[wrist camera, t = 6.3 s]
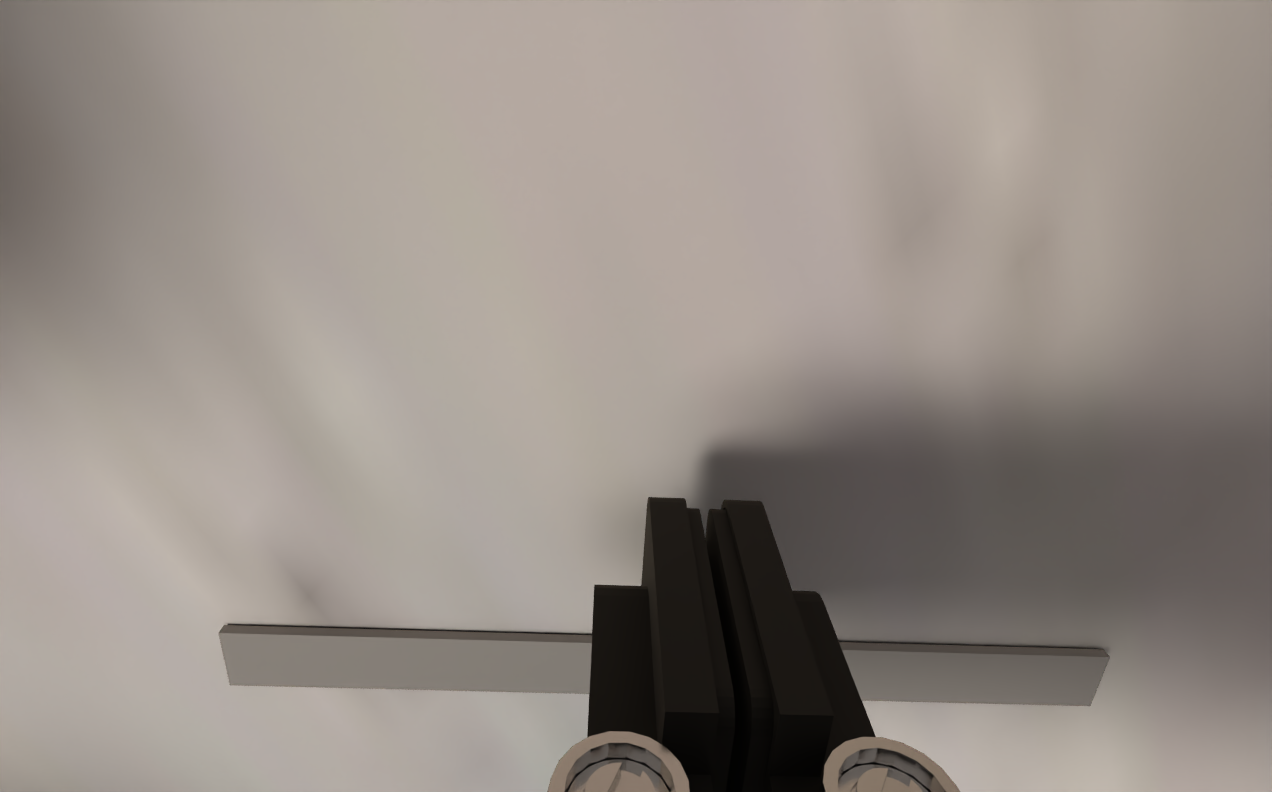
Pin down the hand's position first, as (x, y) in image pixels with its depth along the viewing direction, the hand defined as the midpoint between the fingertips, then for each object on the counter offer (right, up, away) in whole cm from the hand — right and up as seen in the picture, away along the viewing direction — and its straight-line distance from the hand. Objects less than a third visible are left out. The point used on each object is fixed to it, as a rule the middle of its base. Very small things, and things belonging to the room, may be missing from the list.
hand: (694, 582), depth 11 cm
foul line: (0, -2, +3) cm, 3 cm away
